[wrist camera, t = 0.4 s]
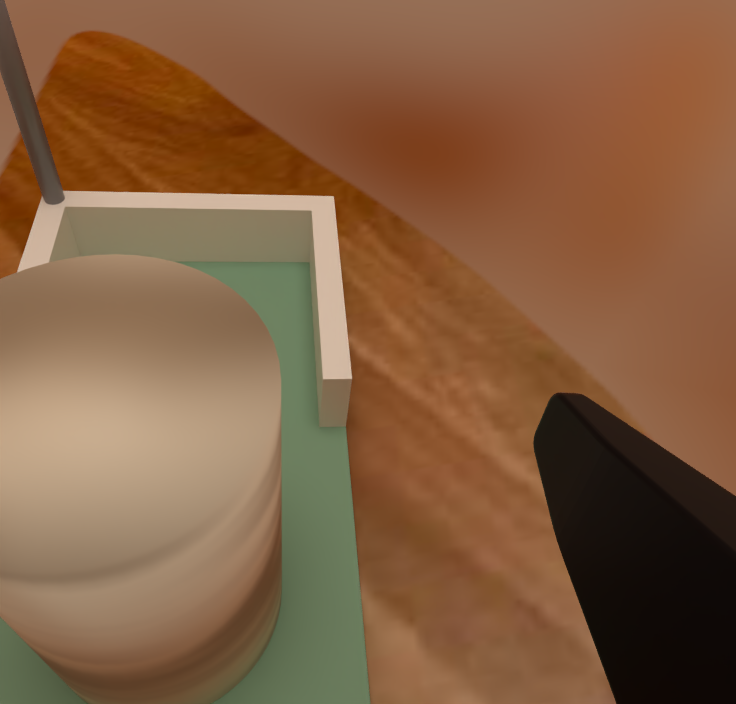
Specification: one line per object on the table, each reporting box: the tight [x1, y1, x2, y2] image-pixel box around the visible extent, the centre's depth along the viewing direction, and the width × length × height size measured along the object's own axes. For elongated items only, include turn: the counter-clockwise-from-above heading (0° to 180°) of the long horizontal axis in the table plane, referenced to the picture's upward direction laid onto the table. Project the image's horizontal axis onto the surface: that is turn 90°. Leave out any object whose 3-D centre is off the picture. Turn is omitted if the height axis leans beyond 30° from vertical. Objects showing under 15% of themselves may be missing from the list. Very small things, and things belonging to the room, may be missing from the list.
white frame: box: [0, 0, 352, 427], centre depth 22 cm, size 10×12×15 cm
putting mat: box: [0, 261, 370, 704], centre depth 25 cm, size 22×12×1 cm, turn 6°
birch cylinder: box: [0, 254, 282, 704], centre depth 17 cm, size 7×7×11 cm
